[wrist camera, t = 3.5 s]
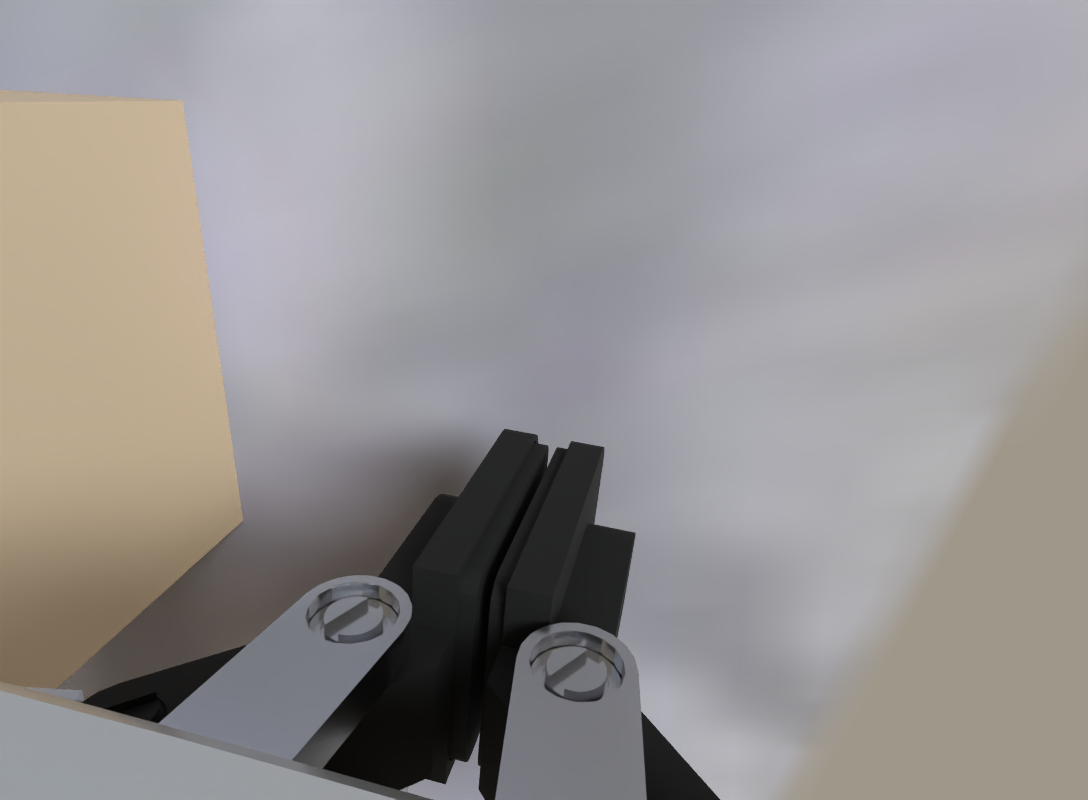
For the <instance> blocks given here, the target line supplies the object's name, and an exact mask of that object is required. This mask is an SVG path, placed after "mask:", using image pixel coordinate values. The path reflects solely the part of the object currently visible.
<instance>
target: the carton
mask: <svg viewBox="0 0 1088 800" xmlns="http://www.w3.org/2000/svg"><path fill="white" fill-rule="evenodd" d="M242 521H243V516H242V509H241V502H240V495H239V488H238V481H237V474H236V468H235V461H234V454H233V447H232V440H231V433H230V426H229V419H228V412H227V405H226V398H225V391H224V384H223V377H222V370H221V363H220V356H219V350H218V343H217V336H216V329H215V322H214V315H213V308H212V301H211V294H210V287H209V280H208V273H207V266H206V259H205V252H204V245H203V238H202V232H201V225H200V218H199V211H198V204H197V197H196V190H195V183H194V176H193V169H192V162H191V155H190V148H189V141H188V134H187V127H186V120H185V113H184V107H183V101H178V100H161V99H145V98H128V97H111V96H94V95H78V94H61V93H44V92H27V91H10V90H0V682H4V683H8V684H12V685H16V686H20V687H33V688H52V689H57V688H58V687H59V686H60V685H61V684H62V683H63V682H65V681H66V680H67V679H68V678H69V677H70V676H71V675H72V674H73V673H75V672H76V671H77V670H78V669H79V668H80V667H81V666H82V665H83V664H85V663H86V662H87V661H88V660H89V659H90V658H91V657H92V656H93V655H95V654H96V653H97V652H98V651H99V650H100V649H101V648H102V647H103V646H105V645H106V644H107V643H108V642H109V641H110V640H111V639H112V638H113V637H115V636H116V635H117V634H118V633H119V632H120V631H121V630H122V629H123V628H125V627H126V626H127V625H128V624H129V623H130V622H131V621H132V620H133V619H135V618H136V617H137V616H138V615H139V614H140V613H141V612H142V611H143V610H145V609H146V608H147V607H148V606H149V605H150V604H151V603H152V602H153V601H155V600H156V599H157V598H158V597H159V596H160V595H161V594H162V593H163V592H165V591H166V590H167V589H168V588H169V587H170V586H171V585H172V584H173V583H175V582H176V581H177V580H178V579H179V578H180V577H181V576H182V575H183V574H184V573H186V572H187V571H188V570H189V569H190V568H191V567H192V566H193V565H194V564H196V563H197V562H198V561H199V560H200V559H201V558H202V557H203V556H204V555H206V554H207V553H208V552H209V551H210V550H211V549H212V548H213V547H214V546H216V545H217V544H218V543H219V542H220V541H221V540H222V539H223V538H224V537H226V536H227V535H228V534H229V533H230V532H231V531H232V530H233V529H234V528H236V527H237V526H238V525H239V524H240V523H241V522H242Z"/></svg>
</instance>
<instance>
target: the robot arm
mask: <svg viewBox="0 0 1088 800" xmlns="http://www.w3.org/2000/svg"><path fill="white" fill-rule="evenodd" d="M603 458H604V447H600V446H595V445H589V444H584V443H578V442H573V441H571V443H570V445H569V447H568V449H564V448H558V447H557V449H556V451H555V453H554V455H553V457H552V459H551V461H550V463H549V465H548V467H547V461H548V446H547V445H542V444H538V436H537V435H535V434H530V433H524V432H519V431H513V430H508V429H504V430H503V431H502V433H501V434H500V436H499V437H498V439H497V440H496V442H495V443H494V445H493V446H492V448H491V449H490V451H489V452H488V454H487V455H486V457H485V458H484V460H483V461H482V463H481V464H480V466H479V467H478V469H477V470H476V472H475V473H474V475H473V476H472V478H471V479H470V481H469V482H468V484H467V485H466V487H465V488H464V490H463V491H462V493H461V494H460V496H459V497H456V496H451V495H446V494H439V495H438V496H437V497H436V498H435V500H434V501H433V502H432V504H431V505H430V506H429V508H428V509H427V511H426V512H425V513H424V515H423V516H422V517H421V519H420V520H419V522H418V523H417V524H416V526H415V527H414V529H413V530H412V531H411V533H410V534H409V535H408V537H407V538H406V540H405V541H404V542H403V544H402V545H401V546H400V548H399V549H398V551H397V552H396V553H395V555H394V556H393V557H392V559H391V560H390V562H389V563H388V564H387V566H386V567H385V569H384V570H383V571H382V573H381V574H380V575H379V577H374V576H370V575H351V576H346V577H340V578H335V579H332V580H330V581H327V582H324V583H322V584H319V585H318V586H316V587H315V588H313V589H312V590H310V591H309V592H307V593H306V594H305V595H303V596H302V597H301V598H300V599H299V600H298V601H297V602H296V603H294V604H293V605H292V606H291V607H290V608H289V609H288V610H286V611H285V612H284V613H283V614H282V615H281V616H280V617H279V618H277V619H276V620H275V621H274V622H273V623H272V624H271V625H269V626H268V627H267V628H266V629H265V630H264V631H263V632H262V633H260V634H259V635H258V636H257V637H256V638H255V639H254V640H252V641H251V642H250V643H249V644H248V645H245V646H242V647H239V648H235V649H232V650H229V651H225V652H222V653H219V654H215V655H212V656H209V657H205V658H202V659H199V660H195V661H192V662H189V663H185V664H182V665H179V666H175V667H172V668H169V669H165V670H162V671H159V672H156V673H152V674H149V675H146V676H142V677H139V678H136V679H132V680H129V681H126V682H122V683H119V684H117V685H114V686H112V687H109V688H107V689H104V690H102V691H99V692H97V693H96V694H94V695H93V696H91V697H89V698H88V699H86V700H84V696H83V691H82V690H71V689H52V688H33V687H20V686H16V685H12V684H8V683H4V682H0V800H432V799H428V798H425V797H421V796H418V795H414V794H411V793H407V790H408V786H410V785H413V784H415V783H417V782H419V781H422V780H424V779H428V780H432V781H435V782H439V783H443V784H446V781H447V779H448V776H449V774H450V771H451V769H452V766H453V764H454V761H455V759H456V760H460V761H464V762H468V760H469V758H470V756H471V754H472V751H473V748H474V746H475V743H476V741H477V738H478V735H479V733H480V740H479V752H478V765H479V766H481V767H480V779H479V790H480V792H481V794H482V796H483V797H484V799H485V800H720V799H719V798H718V797H717V796H716V795H715V793H714V792H713V791H712V790H711V789H710V788H709V787H708V786H707V784H706V783H705V782H704V781H703V780H702V779H701V778H700V777H699V775H698V774H697V773H696V772H695V771H694V770H693V769H692V768H691V767H690V765H689V764H688V763H687V762H686V761H685V760H684V759H683V758H682V756H681V755H680V754H679V753H678V752H677V751H676V750H675V749H674V747H673V746H672V745H671V744H670V743H669V742H668V741H667V740H666V739H665V737H664V736H663V735H662V734H661V733H660V732H659V731H658V730H657V728H656V727H655V726H654V725H653V724H652V723H651V722H650V721H649V719H648V718H647V717H646V716H645V715H644V714H643V713H642V712H641V704H640V689H639V674H638V669H637V665H636V661H635V658H634V656H633V655H632V654H631V652H630V651H629V649H628V648H627V646H626V645H625V644H624V643H622V642H621V641H620V640H619V639H617V636H618V631H619V626H620V620H621V615H622V610H623V604H624V598H625V593H626V587H627V581H628V576H629V570H630V564H631V558H632V552H633V546H634V540H635V533H634V532H629V531H624V530H619V529H614V528H609V527H604V526H599V525H594V522H595V515H596V508H597V501H598V493H599V486H600V479H601V472H602V465H603Z"/></svg>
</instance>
